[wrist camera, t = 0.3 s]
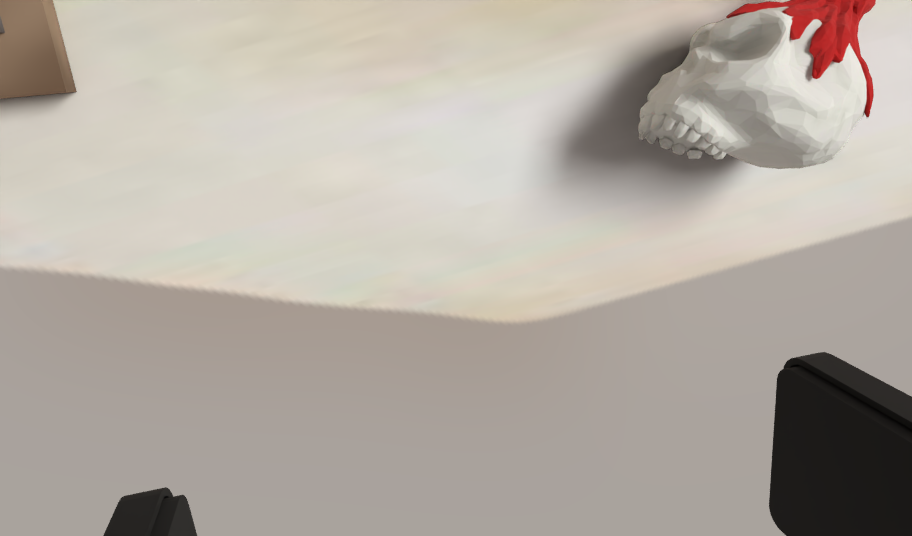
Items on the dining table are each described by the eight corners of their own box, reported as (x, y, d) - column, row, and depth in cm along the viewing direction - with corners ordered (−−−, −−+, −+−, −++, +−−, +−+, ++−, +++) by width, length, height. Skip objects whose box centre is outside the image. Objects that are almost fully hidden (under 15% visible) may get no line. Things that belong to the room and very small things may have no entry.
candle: (600, 125, 40) (734, -67, 40) (714, 227, 44) (836, 50, 44) (690, 118, 31) (860, -126, 32) (822, 245, 35) (973, 26, 35)
